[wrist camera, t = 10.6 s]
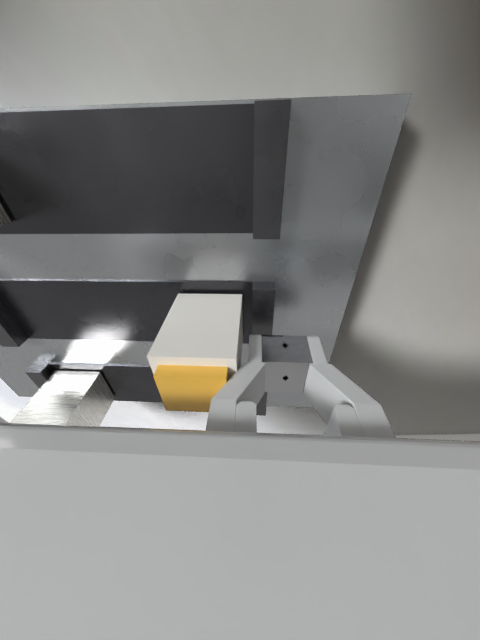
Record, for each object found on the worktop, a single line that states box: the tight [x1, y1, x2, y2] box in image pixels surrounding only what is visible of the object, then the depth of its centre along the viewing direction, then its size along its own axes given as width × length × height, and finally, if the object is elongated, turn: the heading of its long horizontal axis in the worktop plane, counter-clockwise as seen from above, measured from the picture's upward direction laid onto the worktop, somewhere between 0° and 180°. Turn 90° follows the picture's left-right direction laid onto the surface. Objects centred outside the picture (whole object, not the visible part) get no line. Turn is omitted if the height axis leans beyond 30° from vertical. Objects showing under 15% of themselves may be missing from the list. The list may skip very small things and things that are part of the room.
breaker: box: [147, 294, 243, 412], centre depth 10 cm, size 3×3×4 cm
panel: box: [0, 94, 412, 427], centre depth 11 cm, size 22×16×6 cm
